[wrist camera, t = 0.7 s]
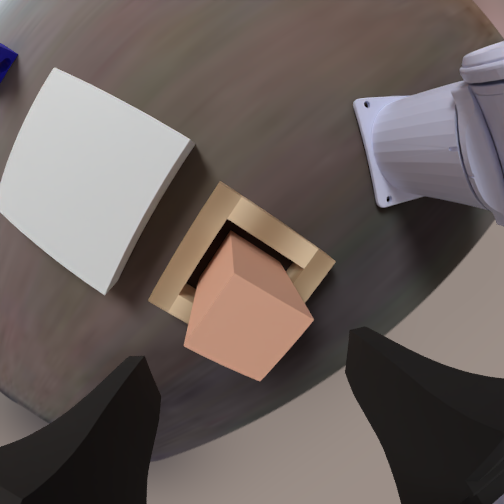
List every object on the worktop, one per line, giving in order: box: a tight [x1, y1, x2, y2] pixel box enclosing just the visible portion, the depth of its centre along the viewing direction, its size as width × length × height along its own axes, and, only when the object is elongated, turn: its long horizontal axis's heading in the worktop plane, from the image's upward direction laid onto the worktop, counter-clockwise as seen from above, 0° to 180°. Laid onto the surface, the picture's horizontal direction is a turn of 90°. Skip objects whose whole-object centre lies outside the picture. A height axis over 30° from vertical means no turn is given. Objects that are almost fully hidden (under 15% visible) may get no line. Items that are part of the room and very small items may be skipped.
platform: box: [0, 68, 195, 295], centre depth 15 cm, size 12×11×2 cm
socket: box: [148, 181, 336, 324], centre depth 18 cm, size 9×9×2 cm
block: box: [184, 230, 314, 381], centre depth 15 cm, size 4×4×8 cm
